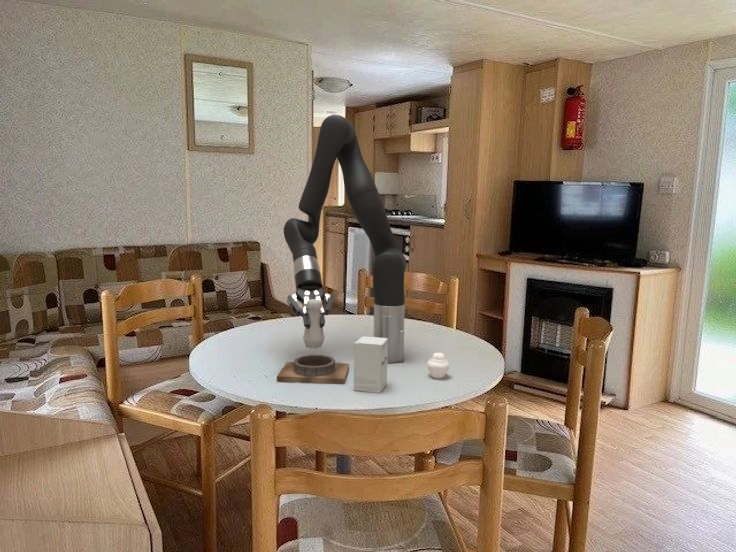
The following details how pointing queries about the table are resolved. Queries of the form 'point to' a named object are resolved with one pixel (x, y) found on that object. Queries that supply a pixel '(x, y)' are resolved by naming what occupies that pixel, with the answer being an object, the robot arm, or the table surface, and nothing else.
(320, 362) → the socket base
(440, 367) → the muffin
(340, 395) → the table surface
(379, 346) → the supplement box
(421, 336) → the table surface
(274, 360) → the table surface
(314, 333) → the salt shaker
